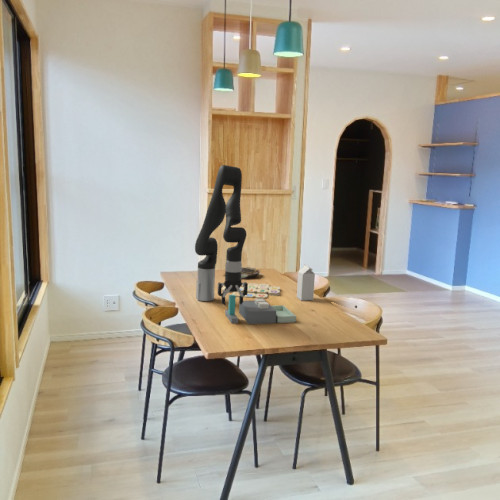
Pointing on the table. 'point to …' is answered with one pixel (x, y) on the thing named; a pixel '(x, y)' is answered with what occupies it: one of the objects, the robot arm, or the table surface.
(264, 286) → the alphabet tiles
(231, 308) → the scraper
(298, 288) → the milk carton
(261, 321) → the block
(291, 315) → the box
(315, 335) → the table surface
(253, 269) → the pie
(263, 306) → the ceramic tile
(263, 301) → the ceramic tile
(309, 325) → the table surface
